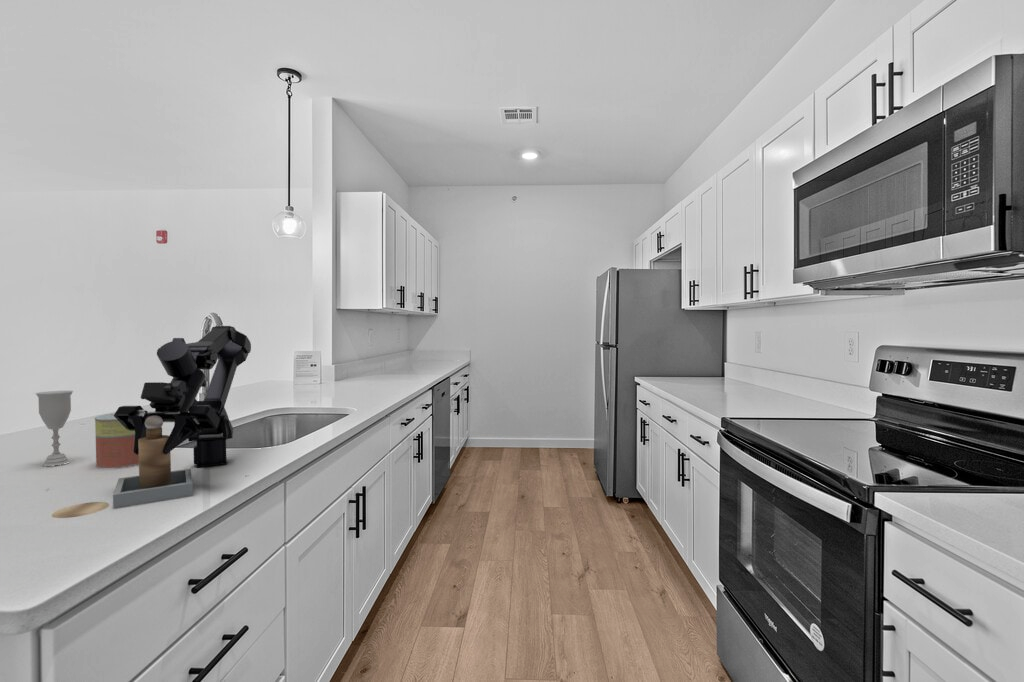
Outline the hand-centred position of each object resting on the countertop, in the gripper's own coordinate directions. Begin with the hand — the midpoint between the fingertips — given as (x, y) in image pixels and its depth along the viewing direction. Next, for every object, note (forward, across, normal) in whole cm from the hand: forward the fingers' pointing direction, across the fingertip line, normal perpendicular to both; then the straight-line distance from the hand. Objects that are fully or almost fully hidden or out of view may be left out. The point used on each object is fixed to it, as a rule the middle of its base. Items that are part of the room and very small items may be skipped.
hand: (150, 453), depth 99 cm
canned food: (-13, -25, +26) cm, 38 cm away
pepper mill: (+4, 0, +6) cm, 7 cm away
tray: (+6, 0, +7) cm, 9 cm away
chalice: (-12, -41, +26) cm, 50 cm away
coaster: (+12, -8, +1) cm, 14 cm away
